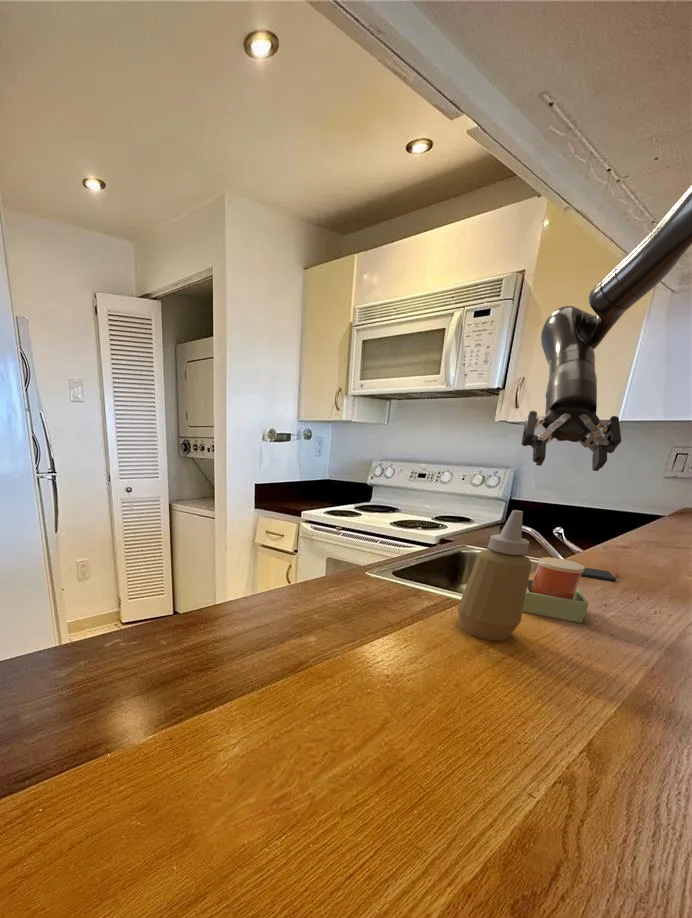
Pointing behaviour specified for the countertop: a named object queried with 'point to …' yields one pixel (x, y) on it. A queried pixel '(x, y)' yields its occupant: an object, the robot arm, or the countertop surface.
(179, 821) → the countertop surface
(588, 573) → the drying mat
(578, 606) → the green shallow open box
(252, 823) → the countertop surface
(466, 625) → the squeeze bottle
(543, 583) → the tumbler
